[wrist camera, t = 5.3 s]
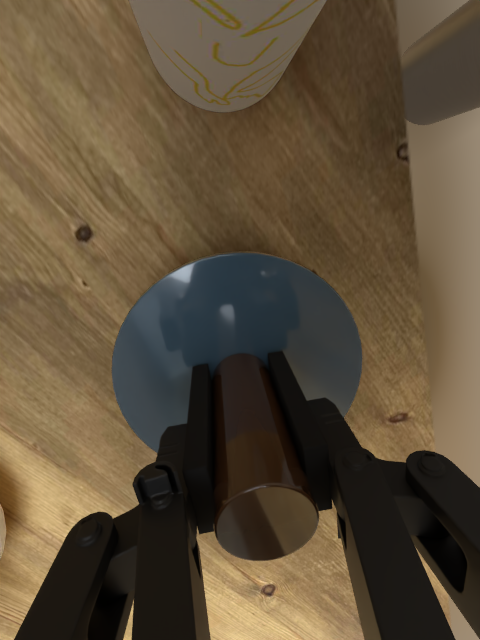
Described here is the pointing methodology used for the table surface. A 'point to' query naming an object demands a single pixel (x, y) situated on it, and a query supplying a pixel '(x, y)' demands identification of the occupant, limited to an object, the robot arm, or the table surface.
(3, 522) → the teapot
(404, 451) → the table surface
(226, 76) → the white cylinder
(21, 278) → the table surface
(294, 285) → the canister lid
